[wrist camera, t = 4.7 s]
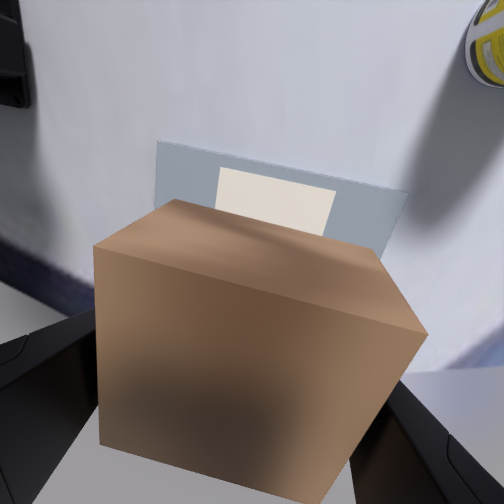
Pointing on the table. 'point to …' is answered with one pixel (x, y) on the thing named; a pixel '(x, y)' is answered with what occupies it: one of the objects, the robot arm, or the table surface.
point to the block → (244, 347)
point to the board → (279, 195)
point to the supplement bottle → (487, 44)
